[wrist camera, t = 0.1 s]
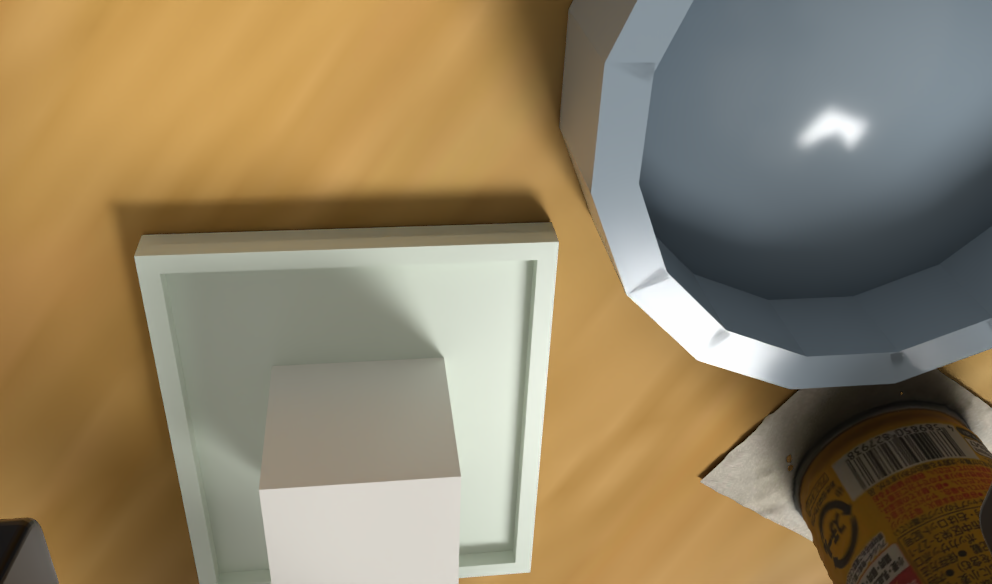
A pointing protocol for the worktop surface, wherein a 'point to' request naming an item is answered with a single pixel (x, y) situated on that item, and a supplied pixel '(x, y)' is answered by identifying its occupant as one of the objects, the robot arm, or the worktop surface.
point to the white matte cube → (361, 474)
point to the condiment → (875, 479)
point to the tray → (351, 338)
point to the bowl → (792, 177)
